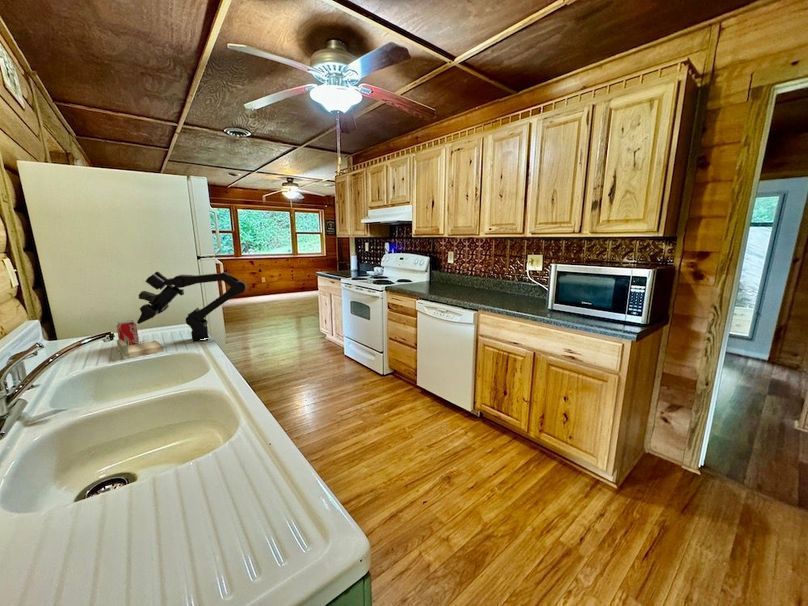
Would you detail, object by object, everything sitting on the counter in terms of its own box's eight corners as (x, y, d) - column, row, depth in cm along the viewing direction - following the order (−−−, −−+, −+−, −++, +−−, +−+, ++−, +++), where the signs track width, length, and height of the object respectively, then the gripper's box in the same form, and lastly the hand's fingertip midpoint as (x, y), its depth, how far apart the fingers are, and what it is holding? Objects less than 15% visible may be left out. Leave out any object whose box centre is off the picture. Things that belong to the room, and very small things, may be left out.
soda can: (131, 348, 150) (126, 323, 148) (116, 348, 150) (111, 323, 148) (143, 344, 157) (139, 319, 155) (129, 344, 157) (124, 319, 155)
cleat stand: (156, 345, 155) (154, 333, 153) (163, 351, 147) (161, 338, 146) (119, 353, 144) (116, 340, 143) (124, 359, 137) (122, 345, 136)
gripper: (157, 282, 161) (133, 306, 159) (141, 287, 143) (115, 314, 142) (178, 297, 165) (155, 320, 163) (165, 303, 148) (140, 330, 146)
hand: (142, 320), depth 154 cm, fingers open, 9 cm apart
